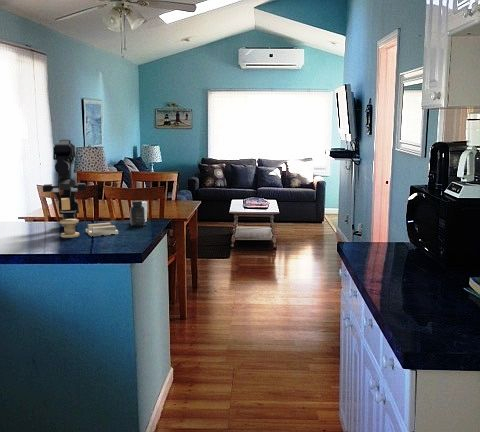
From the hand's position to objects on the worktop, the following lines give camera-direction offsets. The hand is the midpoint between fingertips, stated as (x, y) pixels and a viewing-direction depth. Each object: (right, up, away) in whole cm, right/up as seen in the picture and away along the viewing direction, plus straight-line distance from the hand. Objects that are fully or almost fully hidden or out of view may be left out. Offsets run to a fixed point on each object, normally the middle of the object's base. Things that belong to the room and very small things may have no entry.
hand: (65, 206), depth 254 cm
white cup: (+29, -7, +28) cm, 41 cm away
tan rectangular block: (0, -1, 0) cm, 1 cm away
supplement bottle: (+30, -9, +18) cm, 36 cm away
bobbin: (+4, -13, -7) cm, 16 cm away
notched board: (+17, -12, -1) cm, 21 cm away
